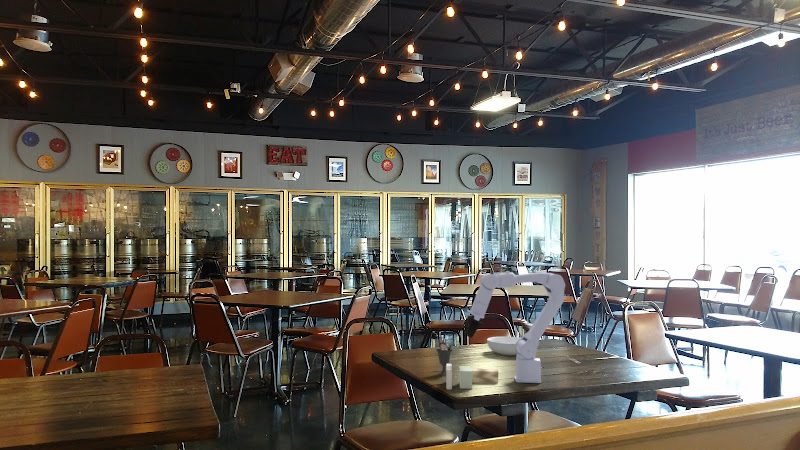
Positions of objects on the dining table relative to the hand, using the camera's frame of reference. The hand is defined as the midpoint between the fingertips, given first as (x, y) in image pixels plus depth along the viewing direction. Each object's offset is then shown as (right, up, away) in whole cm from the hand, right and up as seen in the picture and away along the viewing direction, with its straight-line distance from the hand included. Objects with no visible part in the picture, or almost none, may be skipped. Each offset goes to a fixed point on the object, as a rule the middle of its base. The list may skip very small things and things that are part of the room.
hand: (468, 335), depth 226 cm
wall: (-8, -17, -8) cm, 21 cm away
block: (-2, -17, -9) cm, 20 cm away
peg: (+5, -18, -1) cm, 19 cm away
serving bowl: (+25, -19, +52) cm, 61 cm away
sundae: (-9, -18, +10) cm, 22 cm away
